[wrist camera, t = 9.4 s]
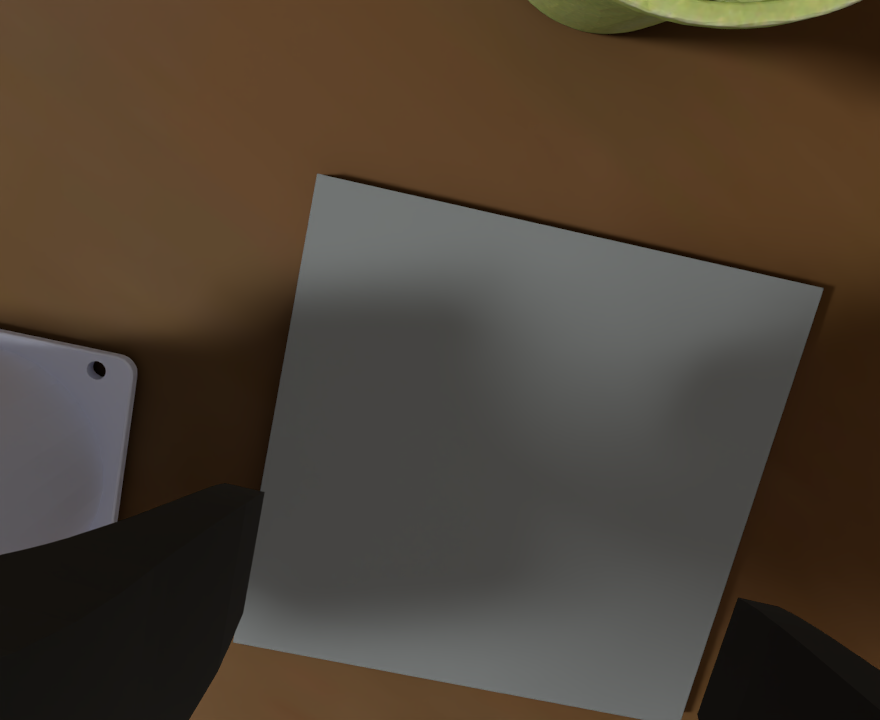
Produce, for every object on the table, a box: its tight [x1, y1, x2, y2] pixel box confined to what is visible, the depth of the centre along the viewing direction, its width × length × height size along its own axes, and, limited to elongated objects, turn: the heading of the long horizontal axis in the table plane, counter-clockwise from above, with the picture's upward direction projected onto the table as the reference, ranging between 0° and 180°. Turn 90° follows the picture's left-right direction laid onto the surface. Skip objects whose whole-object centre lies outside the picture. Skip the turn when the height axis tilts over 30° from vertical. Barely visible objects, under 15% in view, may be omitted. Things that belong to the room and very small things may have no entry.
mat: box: [233, 174, 824, 720], centre depth 21 cm, size 14×14×1 cm
